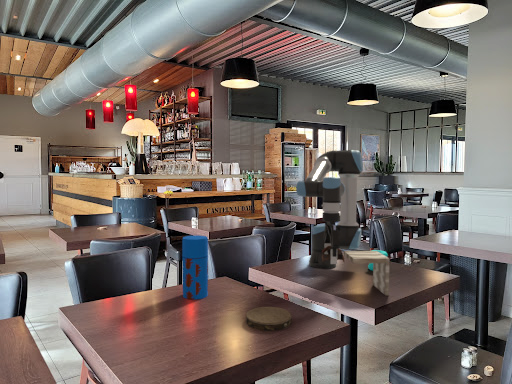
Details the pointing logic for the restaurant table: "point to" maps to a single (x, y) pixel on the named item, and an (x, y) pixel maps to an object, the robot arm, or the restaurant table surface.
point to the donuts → (379, 252)
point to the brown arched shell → (328, 256)
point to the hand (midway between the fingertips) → (330, 260)
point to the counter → (379, 267)
